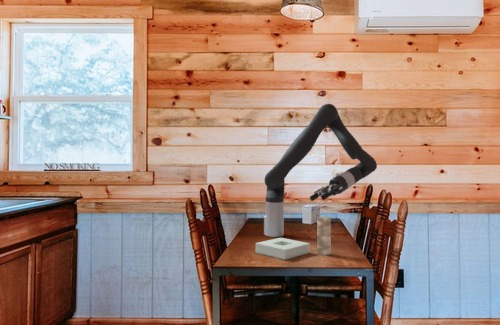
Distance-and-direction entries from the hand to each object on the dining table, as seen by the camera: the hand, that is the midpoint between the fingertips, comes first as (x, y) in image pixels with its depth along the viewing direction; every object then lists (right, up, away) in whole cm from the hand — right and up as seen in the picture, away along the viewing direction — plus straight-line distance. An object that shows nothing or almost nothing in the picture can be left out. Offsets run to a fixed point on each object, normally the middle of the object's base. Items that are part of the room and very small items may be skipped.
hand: (316, 198), depth 163 cm
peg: (+2, -22, -8) cm, 24 cm away
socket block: (-15, -22, -7) cm, 28 cm away
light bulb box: (+9, -21, +67) cm, 71 cm away
